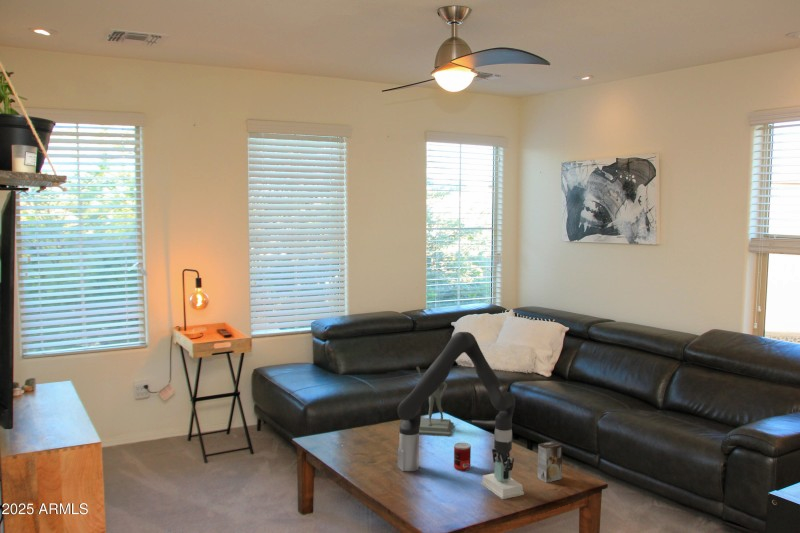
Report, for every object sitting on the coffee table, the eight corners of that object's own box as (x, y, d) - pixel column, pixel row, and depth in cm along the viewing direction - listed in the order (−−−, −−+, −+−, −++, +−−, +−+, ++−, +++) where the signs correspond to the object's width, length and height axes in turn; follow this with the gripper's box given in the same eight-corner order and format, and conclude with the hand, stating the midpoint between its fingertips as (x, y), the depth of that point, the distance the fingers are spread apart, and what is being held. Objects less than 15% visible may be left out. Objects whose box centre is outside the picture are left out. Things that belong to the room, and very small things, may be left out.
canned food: (472, 466, 314) (472, 443, 313) (467, 472, 307) (467, 449, 306) (457, 463, 317) (457, 441, 316) (451, 469, 310) (451, 446, 309)
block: (500, 481, 285) (501, 465, 284) (494, 477, 289) (494, 461, 289) (510, 479, 287) (510, 463, 286) (504, 475, 291) (504, 459, 291)
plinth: (502, 499, 278) (502, 490, 278) (481, 483, 294) (481, 475, 293) (524, 494, 283) (524, 485, 283) (502, 479, 298) (502, 471, 298)
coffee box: (552, 474, 305) (553, 440, 304) (562, 479, 299) (563, 444, 298) (536, 478, 301) (537, 443, 299) (546, 483, 295) (547, 448, 294)
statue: (412, 434, 359) (413, 369, 356) (417, 422, 378) (418, 361, 375) (450, 436, 355) (451, 371, 352) (453, 425, 374) (454, 363, 371)
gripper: (486, 434, 291) (486, 471, 293) (505, 445, 278) (504, 484, 280) (501, 432, 294) (500, 469, 296) (520, 442, 281) (519, 481, 283)
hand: (502, 476), depth 288 cm, fingers closed on block, 4 cm apart
